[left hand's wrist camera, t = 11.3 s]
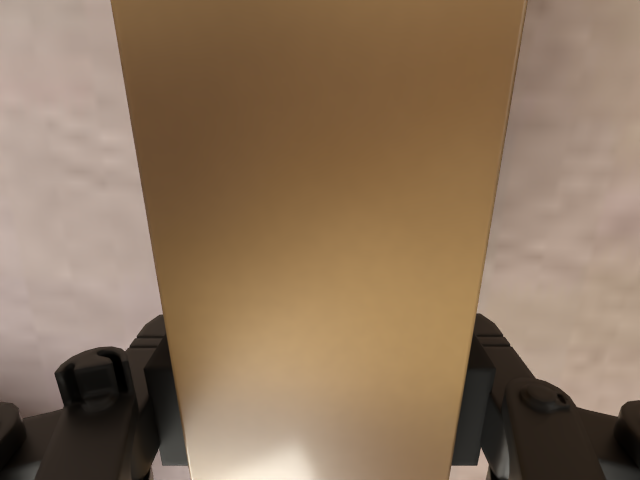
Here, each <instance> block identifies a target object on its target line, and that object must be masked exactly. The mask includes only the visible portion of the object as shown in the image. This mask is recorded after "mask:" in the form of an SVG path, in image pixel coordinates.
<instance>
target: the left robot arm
mask: <svg viewBox="0 0 640 480" xmlns="http://www.w3.org/2000/svg"><path fill="white" fill-rule="evenodd" d="M54 374H55V377H56V380H57V384H58V387H59V390H60V394H61V397H62V400H63V404H64V408H63V409H61V410H57V411H54V412H49V413H45V414H41V415H36V416H32V417H27V418H23V419H22V417H21V414H20V411H19V408H18V407H16V406H15V405H14V404H13V403H5V402H0V480H154V479H153V472H152V468H151V465H152V462H153V460H154V458H155V456H156V453H157V451H158V449H159V450H160V455H161V460H162V466H189V465H188V459H187V454H186V448H185V442H184V436H183V430H182V424H181V418H180V412H179V406H178V400H177V394H176V388H175V382H174V376H173V370H172V364H171V358H170V352H169V346H168V340H167V334H166V328H165V322H164V316H163V315H159V316H157V317H156V318H154V319H153V320H151V321H150V322H149V323H147V324H146V325H145V326H144V327H143V329H142V330H141V331H140V333H139V334H138V335H137V338H135V339H134V341H133V342H132V343H131V345H130V348H128V349H127V350H126V351H124V350H122V349H120V348H116V347H98V348H95V349H91V350H87V351H84V352H82V353H79V354H77V355H75V356H73V357H71V358H70V359H68V360H67V361H66V362H64V363H63V364H61V365H60V367H59V368H58V369H57V370H56V372H55V373H54ZM481 448H482V450H483V452H484V454H485V457H486V459H487V461H488V463H489V468H488V472H487V477H486V480H640V400H638V401H629V402H627V403H626V404H624V405H623V406H622V407H621V410H620V413H619V415H618V417H616V416H611V415H607V414H602V413H598V412H594V411H589V410H585V409H582V408H578V407H576V405H575V404H574V402H573V401H572V399H571V398H570V397H569V396H568V395H567V394H566V393H565V392H563V391H562V390H561V389H560V388H558V387H556V386H554V385H552V384H550V383H548V382H546V381H542V380H539V379H536V378H535V377H534V376H533V374H532V373H531V371H530V370H529V369H528V367H527V366H526V365H525V363H524V362H523V361H522V359H521V358H520V357H519V355H518V354H517V353H516V351H515V350H514V349H513V347H510V343H509V342H508V341H507V339H506V338H505V337H503V334H502V333H501V331H500V330H499V329H498V327H497V326H496V325H495V323H493V322H492V321H490V320H489V319H487V318H486V317H484V316H483V315H482V314H476V318H475V324H474V330H473V336H472V342H471V348H470V354H469V360H468V366H467V372H466V378H465V384H464V391H463V397H462V403H461V409H460V415H459V421H458V427H457V433H456V439H455V445H454V451H453V457H452V463H451V466H477V464H478V459H479V454H480V449H481Z"/></svg>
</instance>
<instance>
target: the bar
mask: <svg viewBox="0 0 640 480" xmlns="http://www.w3.org/2000/svg"><path fill="white" fill-rule="evenodd" d="M527 2H528V0H111V6H112V12H113V17H114V23H115V29H116V35H117V41H118V47H119V53H120V59H121V65H122V71H123V77H124V83H125V89H126V95H127V101H128V107H129V113H130V119H131V125H132V131H133V137H134V143H135V149H136V155H137V161H138V167H139V173H140V179H141V185H142V191H143V197H144V203H145V209H146V215H147V221H148V227H149V233H150V238H151V244H152V250H153V256H154V262H155V268H156V274H157V280H158V286H159V292H160V298H161V304H162V310H163V316H164V322H165V328H166V334H167V340H168V346H169V352H170V358H171V364H172V370H173V376H174V382H175V388H176V394H177V400H178V406H179V412H180V418H181V424H182V430H183V436H184V442H185V448H186V454H187V459H188V465H189V471H190V477H191V480H449V476H450V469H451V463H452V457H453V451H454V445H455V439H456V433H457V427H458V421H459V415H460V409H461V403H462V397H463V391H464V384H465V378H466V372H467V366H468V360H469V354H470V348H471V342H472V336H473V330H474V324H475V318H476V312H477V306H478V299H479V293H480V287H481V281H482V275H483V269H484V263H485V257H486V251H487V245H488V239H489V233H490V227H491V221H492V214H493V208H494V202H495V196H496V190H497V184H498V178H499V172H500V166H501V160H502V154H503V148H504V142H505V136H506V129H507V123H508V117H509V111H510V105H511V99H512V93H513V87H514V81H515V75H516V69H517V63H518V57H519V51H520V44H521V38H522V32H523V26H524V20H525V14H526V8H527Z"/></svg>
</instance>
